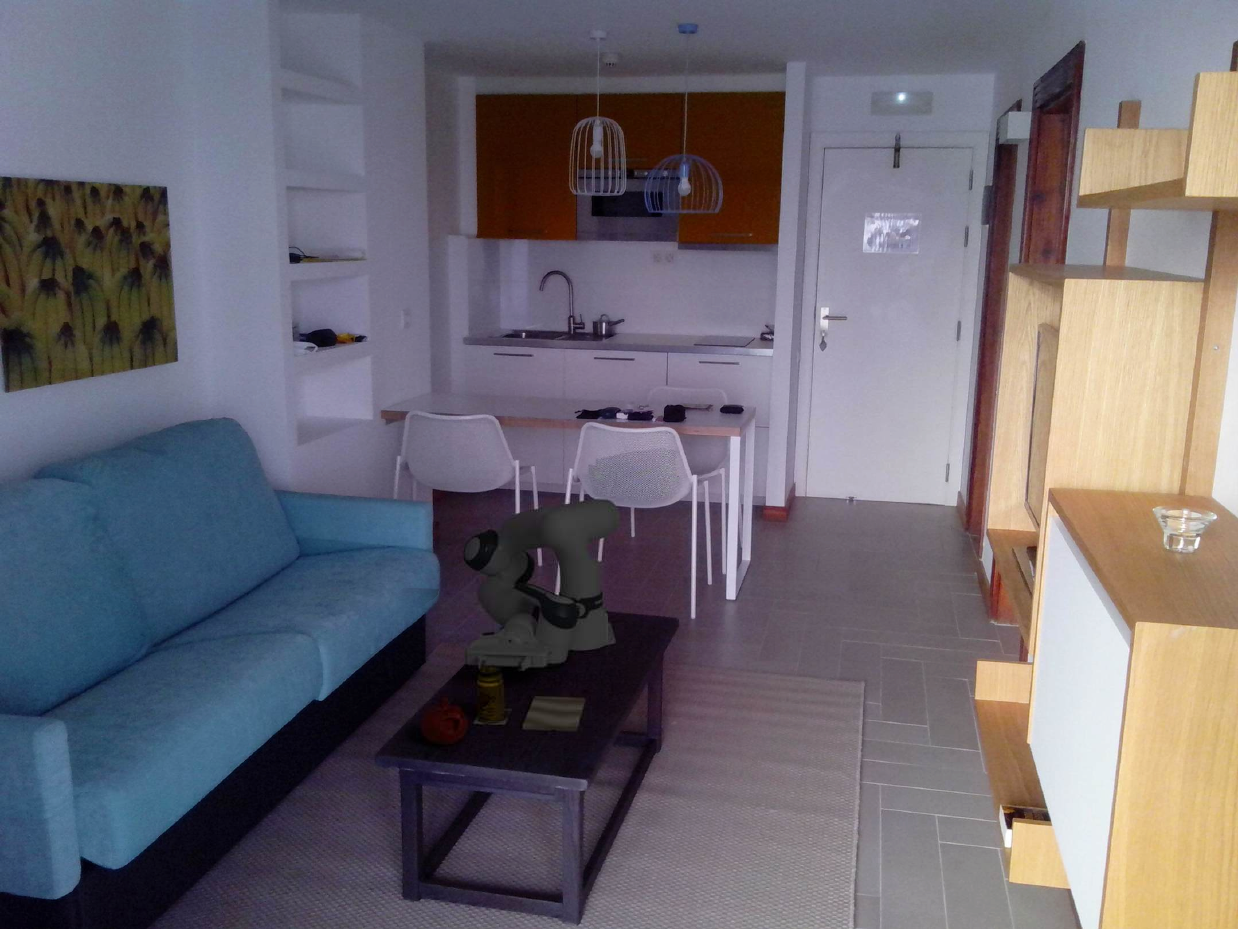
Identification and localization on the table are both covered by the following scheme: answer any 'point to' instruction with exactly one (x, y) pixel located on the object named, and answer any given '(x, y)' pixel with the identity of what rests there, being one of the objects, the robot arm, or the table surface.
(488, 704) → the condiment
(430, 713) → the pomegranate
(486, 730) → the table surface
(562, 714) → the board
